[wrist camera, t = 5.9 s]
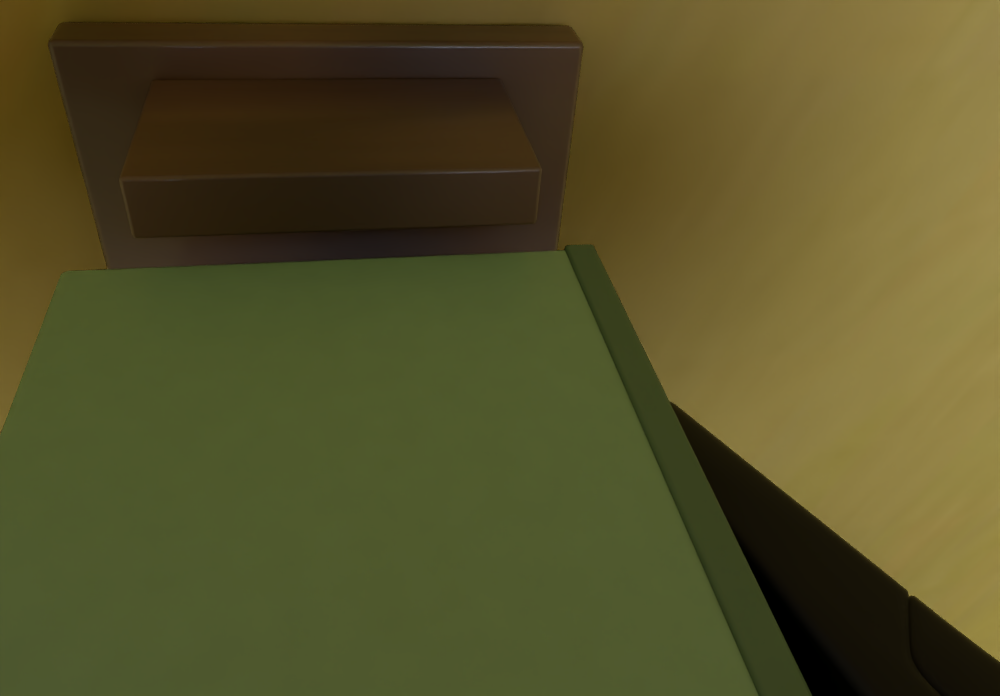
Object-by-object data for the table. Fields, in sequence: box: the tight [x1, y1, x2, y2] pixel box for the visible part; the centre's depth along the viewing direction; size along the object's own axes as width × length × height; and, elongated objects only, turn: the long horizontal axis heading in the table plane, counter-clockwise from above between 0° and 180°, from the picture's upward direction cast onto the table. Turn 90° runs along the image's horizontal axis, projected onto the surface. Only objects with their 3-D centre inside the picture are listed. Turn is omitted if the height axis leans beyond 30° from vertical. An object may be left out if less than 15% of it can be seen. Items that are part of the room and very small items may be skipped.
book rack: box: [48, 22, 583, 269], centre depth 14 cm, size 7×13×7 cm, turn 176°
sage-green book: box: [0, 244, 812, 696], centre depth 8 cm, size 6×2×8 cm, turn 86°
